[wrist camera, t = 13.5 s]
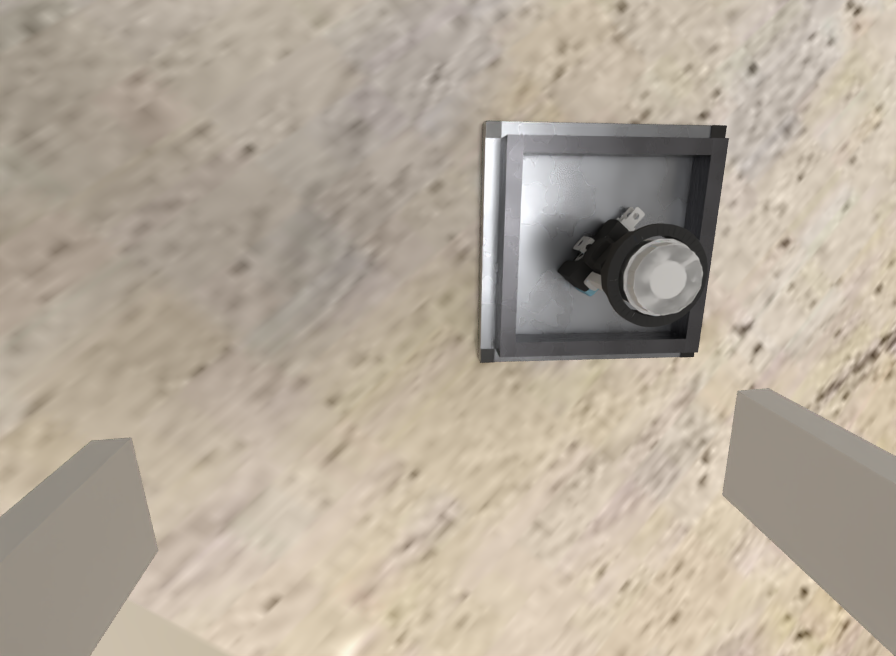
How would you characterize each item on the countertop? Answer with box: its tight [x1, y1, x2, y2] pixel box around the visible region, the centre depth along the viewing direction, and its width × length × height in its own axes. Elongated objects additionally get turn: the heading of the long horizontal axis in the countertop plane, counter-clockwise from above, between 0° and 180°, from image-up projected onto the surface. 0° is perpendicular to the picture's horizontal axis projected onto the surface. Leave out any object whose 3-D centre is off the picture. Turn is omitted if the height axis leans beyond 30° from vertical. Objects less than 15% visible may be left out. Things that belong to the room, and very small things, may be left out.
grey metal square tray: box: [478, 121, 729, 363], centre depth 33 cm, size 16×16×3 cm
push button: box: [558, 207, 708, 327], centre depth 29 cm, size 7×5×10 cm
